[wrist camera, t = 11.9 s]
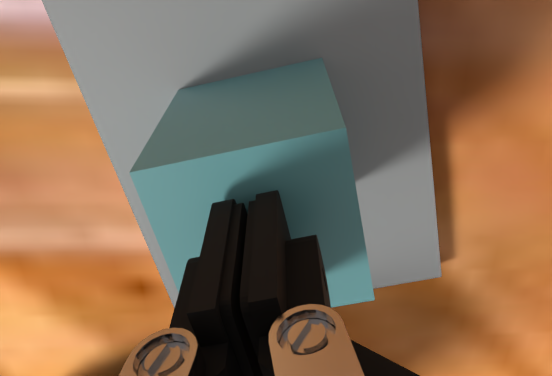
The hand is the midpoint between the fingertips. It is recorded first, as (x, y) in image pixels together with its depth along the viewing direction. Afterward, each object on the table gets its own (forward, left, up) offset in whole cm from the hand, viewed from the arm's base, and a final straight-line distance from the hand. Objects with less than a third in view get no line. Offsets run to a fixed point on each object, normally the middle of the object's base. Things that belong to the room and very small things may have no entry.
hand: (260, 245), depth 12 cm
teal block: (0, 0, -7) cm, 7 cm away
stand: (0, 0, -8) cm, 8 cm away
